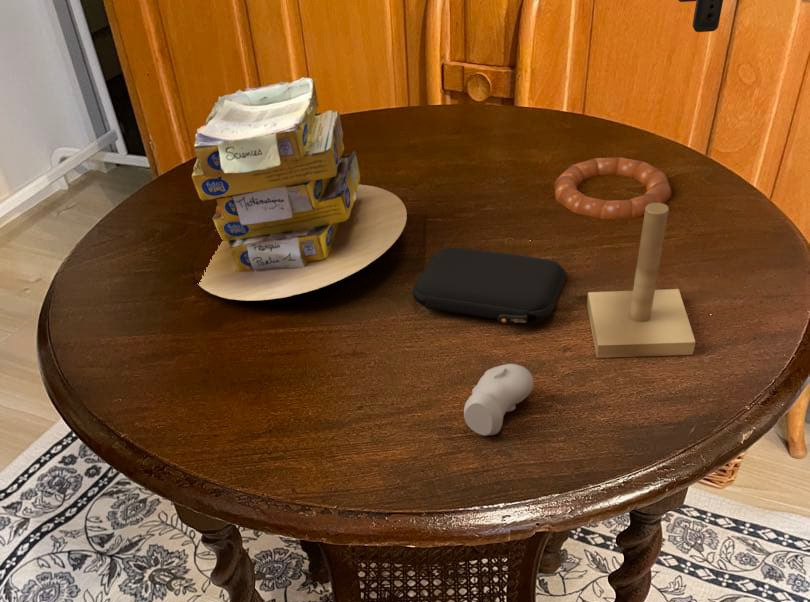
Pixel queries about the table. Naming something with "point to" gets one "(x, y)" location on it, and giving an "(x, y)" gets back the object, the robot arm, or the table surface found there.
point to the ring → (616, 208)
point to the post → (642, 305)
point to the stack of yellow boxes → (286, 196)
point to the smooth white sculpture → (496, 397)
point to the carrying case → (491, 285)
